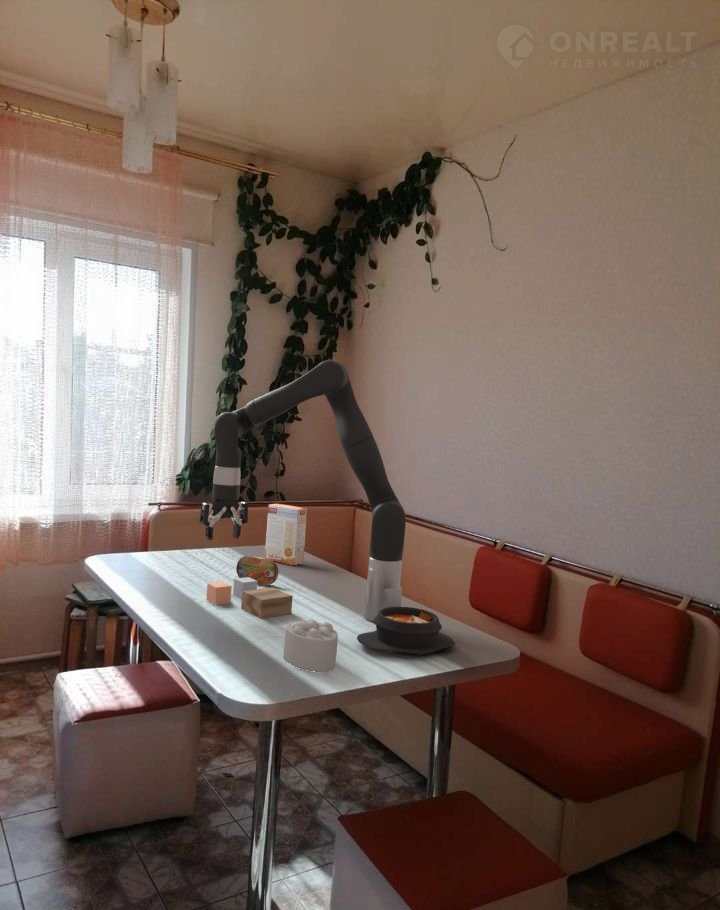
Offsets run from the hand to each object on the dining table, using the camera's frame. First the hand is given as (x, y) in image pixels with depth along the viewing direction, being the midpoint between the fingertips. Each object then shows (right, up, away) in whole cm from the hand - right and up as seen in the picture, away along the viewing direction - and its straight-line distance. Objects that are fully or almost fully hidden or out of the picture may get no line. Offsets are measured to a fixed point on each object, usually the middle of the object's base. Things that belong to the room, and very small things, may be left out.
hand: (222, 538), depth 203 cm
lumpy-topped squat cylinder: (+28, -23, -42) cm, 55 cm away
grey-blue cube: (+5, -18, +9) cm, 21 cm away
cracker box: (+11, -16, +60) cm, 63 cm away
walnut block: (+13, -20, -5) cm, 24 cm away
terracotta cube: (-1, -18, +1) cm, 18 cm away
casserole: (+50, -24, -26) cm, 62 cm away
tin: (+6, -17, +26) cm, 32 cm away
